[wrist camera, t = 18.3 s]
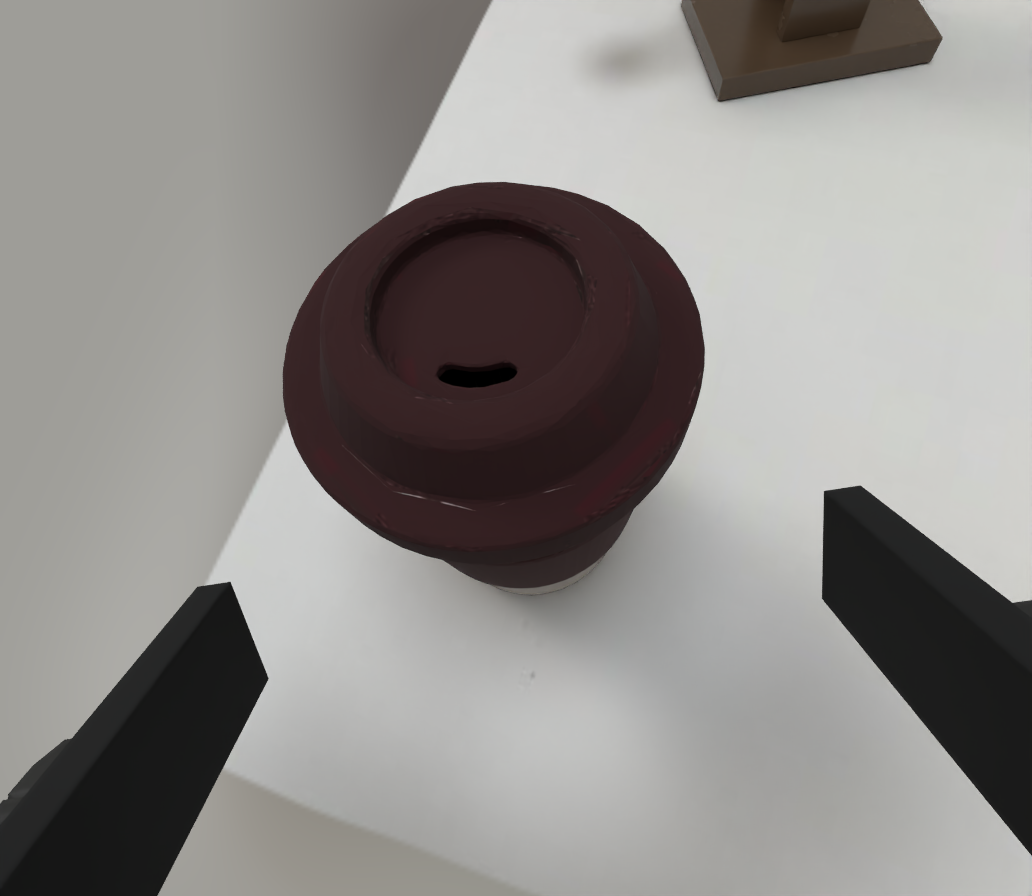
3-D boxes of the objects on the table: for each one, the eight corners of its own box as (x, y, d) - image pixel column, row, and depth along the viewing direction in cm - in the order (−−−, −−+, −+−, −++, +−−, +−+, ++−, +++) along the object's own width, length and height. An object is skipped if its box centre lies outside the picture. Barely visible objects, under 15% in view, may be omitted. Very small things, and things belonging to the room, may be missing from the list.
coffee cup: (505, 374, 29) (435, 78, 16) (692, 480, 26) (807, 227, 13) (375, 543, 27) (151, 365, 13) (565, 682, 24) (536, 642, 10)
